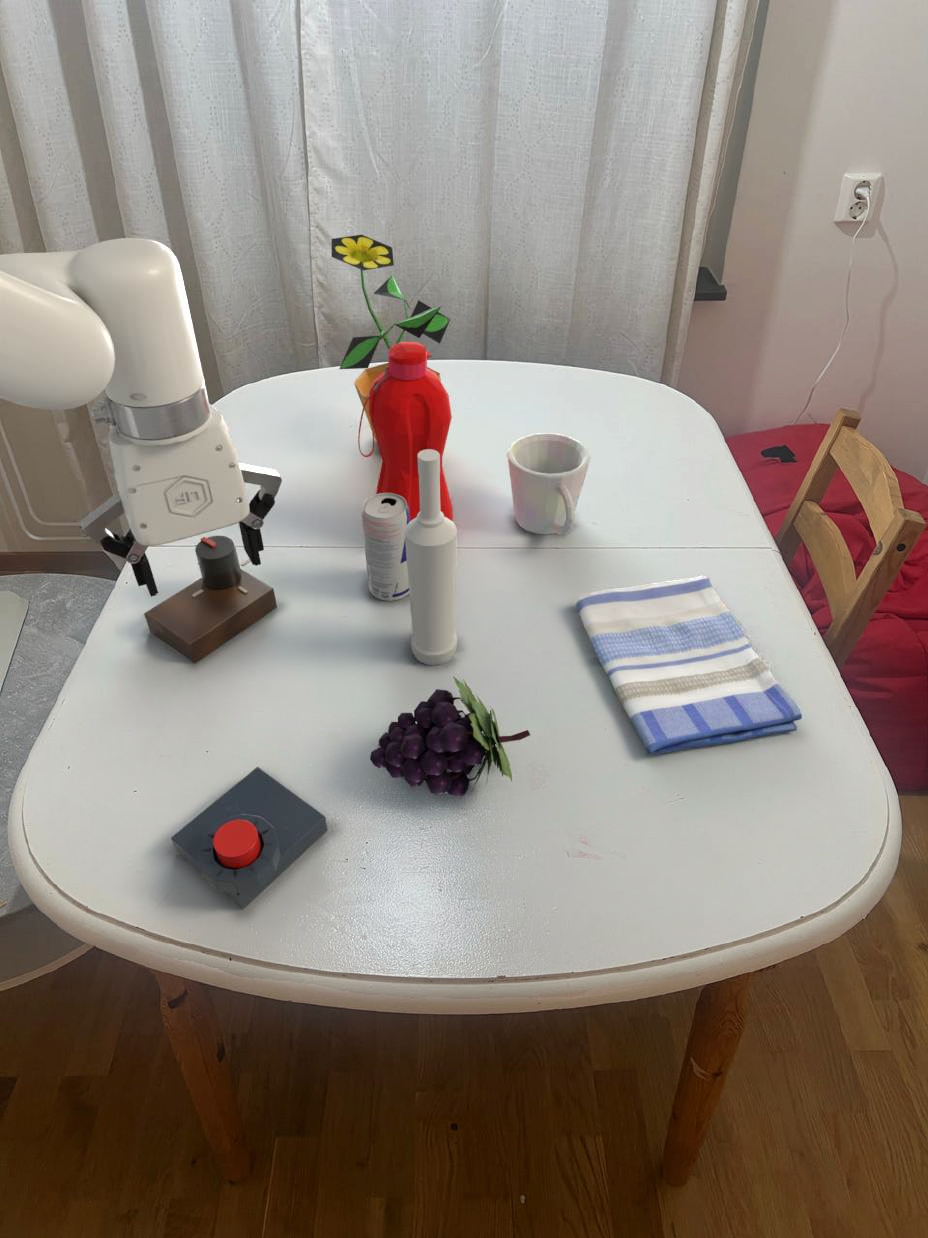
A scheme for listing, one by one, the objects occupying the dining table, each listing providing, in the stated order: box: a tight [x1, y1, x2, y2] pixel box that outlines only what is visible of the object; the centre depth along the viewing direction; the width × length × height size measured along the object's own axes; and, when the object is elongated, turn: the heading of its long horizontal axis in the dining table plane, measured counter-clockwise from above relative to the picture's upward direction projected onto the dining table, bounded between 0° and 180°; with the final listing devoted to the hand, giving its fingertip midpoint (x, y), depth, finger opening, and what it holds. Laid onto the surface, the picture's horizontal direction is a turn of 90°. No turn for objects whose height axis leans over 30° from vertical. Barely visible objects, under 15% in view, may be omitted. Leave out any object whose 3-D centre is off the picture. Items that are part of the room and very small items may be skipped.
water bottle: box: [357, 341, 454, 522], centre depth 103 cm, size 9×11×25 cm
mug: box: [506, 432, 591, 536], centre depth 109 cm, size 10×15×10 cm
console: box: [143, 558, 278, 665], centre depth 98 cm, size 14×10×3 cm
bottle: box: [405, 449, 458, 666], centre depth 86 cm, size 5×5×25 cm
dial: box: [194, 535, 242, 590], centre depth 98 cm, size 4×4×5 cm
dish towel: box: [575, 574, 803, 755], centre depth 92 cm, size 17×24×3 cm
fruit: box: [369, 675, 531, 798], centre depth 79 cm, size 10×11×15 cm
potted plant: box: [331, 234, 451, 446], centre depth 117 cm, size 18×19×30 cm
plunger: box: [213, 820, 261, 868], centre depth 71 cm, size 4×4×2 cm
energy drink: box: [361, 493, 410, 602], centre depth 99 cm, size 5×5×12 cm
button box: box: [170, 766, 328, 910], centre depth 75 cm, size 11×10×4 cm
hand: (203, 572), depth 80 cm, fingers open, 9 cm apart
